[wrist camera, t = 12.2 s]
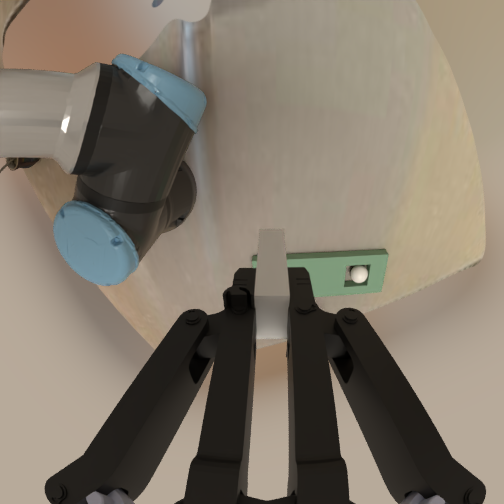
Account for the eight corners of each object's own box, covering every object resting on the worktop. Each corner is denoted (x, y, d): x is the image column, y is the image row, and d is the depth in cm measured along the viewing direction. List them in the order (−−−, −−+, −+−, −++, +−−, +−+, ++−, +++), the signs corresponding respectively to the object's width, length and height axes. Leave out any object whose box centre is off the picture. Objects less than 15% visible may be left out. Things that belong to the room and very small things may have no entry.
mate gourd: (49, 146, 42) (17, 159, 33) (37, 170, 44) (7, 186, 36) (35, 127, 39) (3, 137, 30) (23, 151, 42) (-6, 164, 33)
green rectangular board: (256, 293, 56) (256, 299, 54) (252, 255, 51) (252, 261, 49) (378, 286, 53) (381, 292, 51) (385, 249, 48) (388, 254, 47)
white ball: (371, 277, 47) (366, 284, 50) (367, 261, 49) (364, 269, 52) (353, 279, 47) (350, 286, 50) (350, 262, 49) (347, 270, 52)
